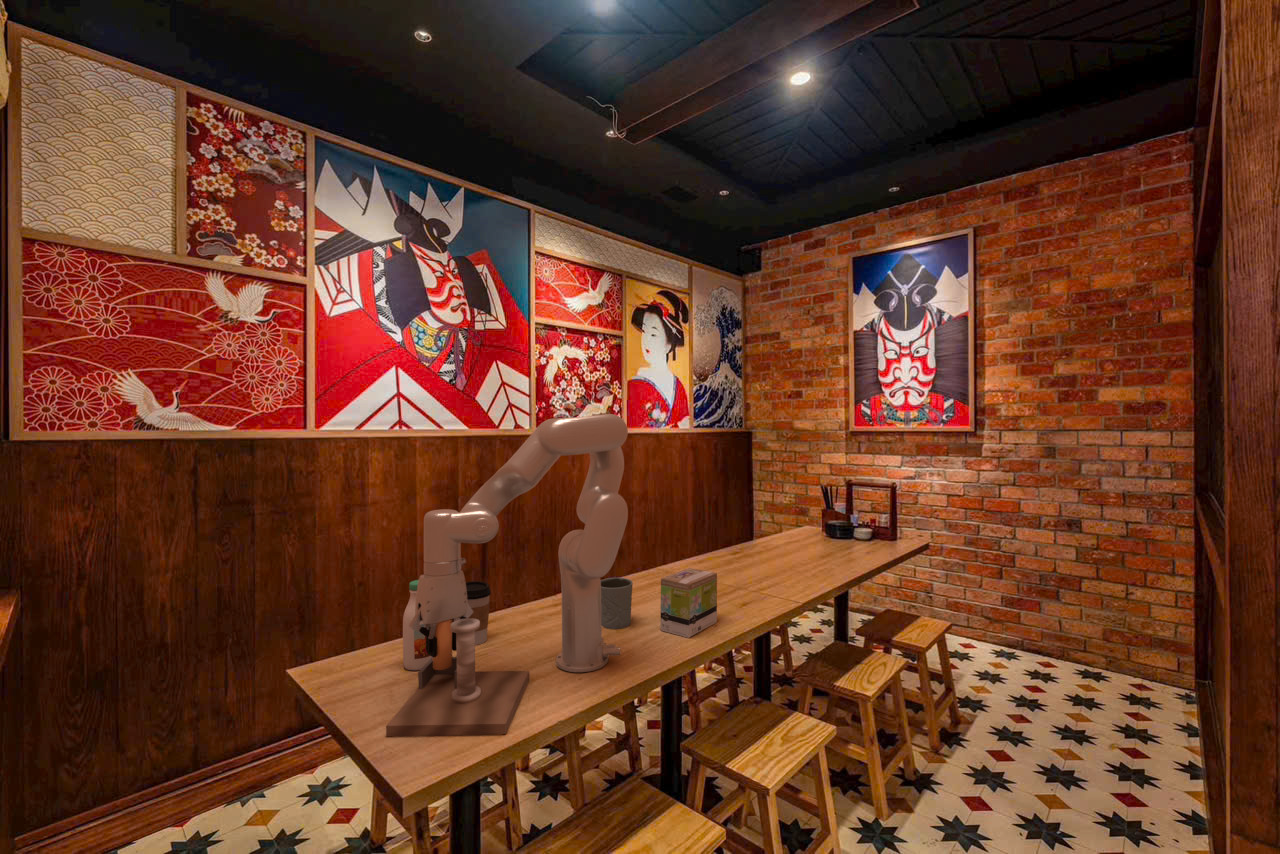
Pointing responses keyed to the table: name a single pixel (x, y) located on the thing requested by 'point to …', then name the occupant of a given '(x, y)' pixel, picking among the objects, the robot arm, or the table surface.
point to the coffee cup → (479, 607)
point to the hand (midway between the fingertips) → (442, 651)
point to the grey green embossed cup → (616, 602)
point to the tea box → (688, 602)
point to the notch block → (435, 672)
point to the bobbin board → (462, 697)
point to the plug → (443, 646)
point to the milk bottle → (413, 636)
